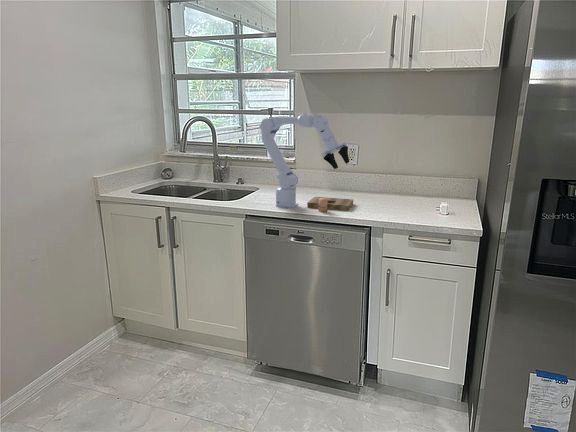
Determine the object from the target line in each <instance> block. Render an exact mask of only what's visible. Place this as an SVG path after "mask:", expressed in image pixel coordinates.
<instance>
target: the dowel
mask: <svg viewBox="0 0 576 432" xmlns="http://www.w3.org/2000/svg"><path fill="white" fill-rule="evenodd" d="M327 201H328V199H327V198H319V208H318V212H320V213H327V212H328V209H327Z"/></svg>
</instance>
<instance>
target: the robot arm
mask: <svg viewBox="0 0 576 432" xmlns="http://www.w3.org/2000/svg"><path fill="white" fill-rule="evenodd" d="M328 122H329V120H328V116H326V115H325V114H320V113H319V114H317V113H313V114H308V113H306V112H303V113H301V114H300V115H299V116H284V115H283V116H282V115H281V116H280V115H279V116H273V117H265V118H263V119H262V120H261V122H260V125H259V129H260V132H261V133H260V134H261V140H262V141H261V142H263V145H264V147H265V148H266V151H267V152H268V155H269V156H270V159H271V160H272V163H273V164H274V167H275V169H276V171H277V179H278V184H279V187H277V188H276V192H275V207H278V208H280V207H281V208H290V209H292V208H295V207H296V206H298V205H299V203H297V202H296V201H297V195H296V193H297V184H298V182H299V179H298V176H297V174H295V173H294V172H293V170H292V169H291V168H289V166H288V164H287V163H286V161H285V158H284V157H283V154H282V153H281V150H280V149H279V147H278V145H277V143H276V141H275V136H276V134H277V133H278V131H280V128H281V127H282V126H283V125H298V126H299V127H301V128H315V129H316V130H317V132H318V134H319V136H320V138H321V140H322V142H323V145H324V146H325V148H326V150H324V151H322V152H320V154H321V157H322V158H323V160H324V161H326V162H328V163H329V164H330V166H331V167H332V168H333V169H334V170H336V169H338V168H339V165H338V162H337V161H336V158H335V152H337V153H338V154H339V155H340V157H341V158H342V160H343V161H344V163H345V164H348V163H350V158H349V147H348V145H347V142H346V141H345V142H342V143H338V141H337V139H336V136H335V134H334V132H333V130H332V128H331V126H330V124H329V123H328Z"/></svg>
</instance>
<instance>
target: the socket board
mask: <svg viewBox="0 0 576 432" xmlns="http://www.w3.org/2000/svg"><path fill="white" fill-rule="evenodd" d="M319 198H327V199H328V201H327V210H334V211H342V212H344V211H346V212H348V211H349V210H350V209H351V208H352V206H353V205H354V198H353V199H352V198H350V199H349V198H339V197H337V198H336V197H328V196H327V197H325V196H324V197H323V196H314V197H312V198H311V199H309V200H308V201H307V205H306V207H307V208H310V209H319Z"/></svg>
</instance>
